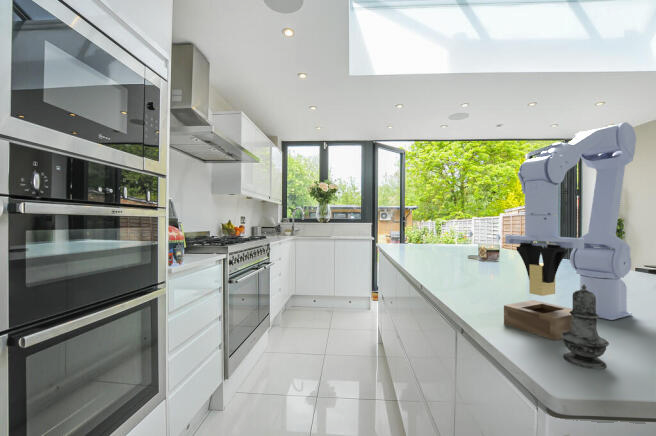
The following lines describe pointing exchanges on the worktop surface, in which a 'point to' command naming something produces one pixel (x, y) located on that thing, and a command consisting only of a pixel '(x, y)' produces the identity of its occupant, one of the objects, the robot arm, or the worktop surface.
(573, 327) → the salt shaker
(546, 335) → the walnut box
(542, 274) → the block
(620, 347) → the worktop surface
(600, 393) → the worktop surface
